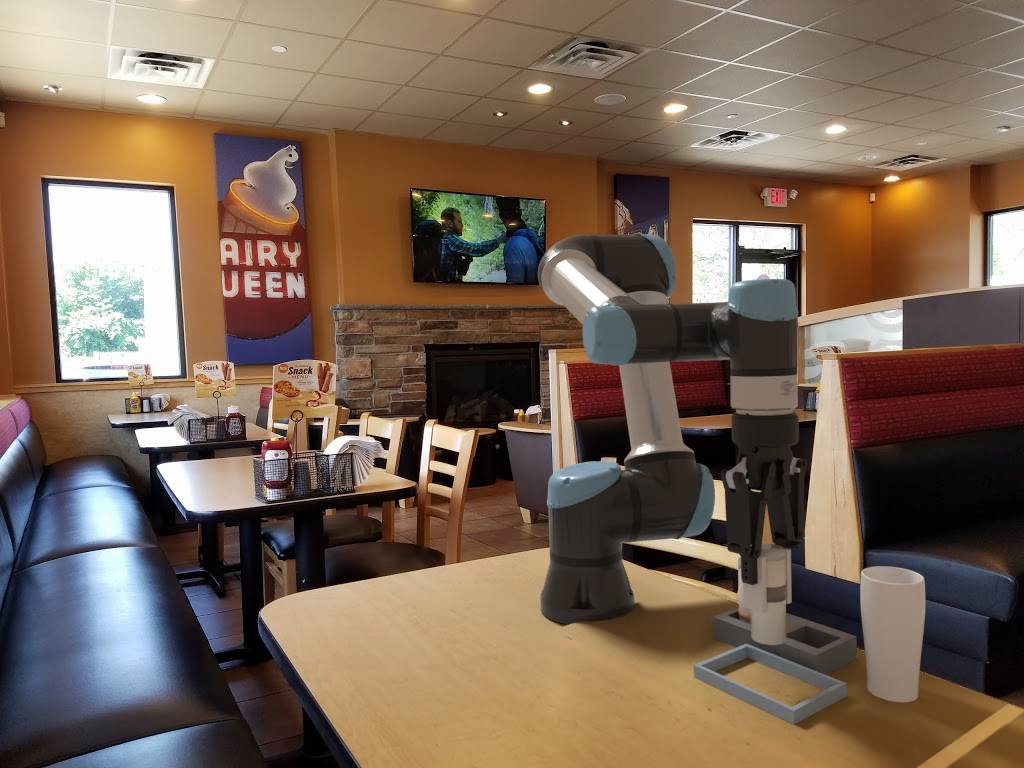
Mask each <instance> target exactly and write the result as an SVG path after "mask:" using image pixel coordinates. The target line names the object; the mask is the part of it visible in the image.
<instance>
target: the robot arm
mask: <svg viewBox="0 0 1024 768" xmlns="http://www.w3.org/2000/svg"><path fill="white" fill-rule="evenodd" d="M676 274H677V267H676V261H675V256H674V254H673V252H672V248H671V247H670V245H669V244H668V242H667V241H666V240H665V239H664V238H662V237H661V236H659V235H658V234H646V233H645V234H644V233H641V232H635V233H632V234H631V233H629V234H627V233H626V234H623V233H622V234H586V233H585V234H584V233H583V234H576V235H572V236H569V237H565V238H563V239H561V240H560V241H557V242H556V243H555V244H554V245H553V244H552V246H551V247H549V248H548V249H547V251H545V253H544V254H543V256H542V258H541V259H540V261H539V265H538V270H537V279H538V284H539V286H540V289H541V290H542V292H543V293H544V295H545V296H546V297H547V298H548V299H549V300H550V301H551V302H553V303H555V304H556V305H560V306H562V307H565V308H566V309H567V310H568V311H569V312H570V314H572V315H573V317H575V318H576V320H578V322H579V323H580V324H581V325H582V345H583V348H584V350H585V355H586V357H587V358H588V360H589V361H590V362H591V363H593V364H596V365H612V366H615V367H616V366H619V374H620V381H621V387H622V394H623V401H624V408H625V414H626V421H627V428H628V436H629V442H630V448H631V450H630V451H629V453H628V454H627V456H626V457H625V458H624V461H623V463H624V469H622V468H621V467H620V465H619V463H618V462H616V461H610V460H599V461H595V460H593V461H585V462H579V463H576V464H571V465H568V466H565V467H562V468H559V469H558V470H556V471H555V472H553V473H552V474H551V475H550V477H549V479H548V482H547V484H548V485H547V500H546V506H547V509H548V511H547V513H548V536H549V537H548V542H549V565H548V569H547V572H546V577H545V579H544V585H543V589H542V590H541V593H540V597H539V598H540V612H541V613H542V615H543V616H545V617H546V618H548V620H551V621H553V622H556V623H560V624H563V625H573V624H575V623H579V622H600V621H601V622H603V621H608V620H615V619H618V618H620V617H623V616H626V615H627V614H629V613H630V612H632V611H633V610H634V608H635V593H634V592H633V590H632V586H631V582H630V580H629V576H628V573H627V571H626V568H625V566H624V562H623V544H624V543H635V542H646V541H647V542H648V541H650V542H651V541H659V540H661V541H662V540H671V539H673V540H680V539H683V538H687V537H688V538H689V537H695V536H698V535H701V534H702V533H704V532H705V531H706V530H707V528H708V527H709V525H710V524H711V521H712V518H713V515H714V512H715V504H716V490H715V489H716V488H715V481H714V478H713V475H712V473H710V471H711V470H710V469H709V468H708V466H706V465H704V464H702V463H698V462H697V461H696V457H695V452H694V450H693V449H692V448H690V447H688V446H687V445H686V444H685V443H684V440H683V436H682V430H681V423H680V417H679V410H678V406H677V398H676V393H675V387H674V382H673V375H672V369H671V368H672V367H671V363H670V362H672V363H673V362H700V361H704V362H705V361H723V360H724V361H725V360H726V361H730V407H731V408H732V409H734V410H735V412H734V413H733V414H732V415H731V416H730V417H731V440H732V442H733V443H734V444H735V445H736V446H737V447H738V455H737V457H736V465H735V466H734V467H733V468H731V469H722V470H721V471H720V479H721V482H722V485H723V489H724V501H725V502H724V503H725V504H724V506H725V529H726V548H727V551H728V552H729V553H734V554H737V555H739V557H741V570H742V571H741V573H742V574H741V579H742V582H743V598H744V607H745V608H748V609H751V610H754V611H757V612H760V613H765V612H767V593H766V557H763V556H760V555H761V548H762V544H763V540H764V539H763V538H764V529H765V519H766V511H767V517H768V523H769V529H770V534H771V535H770V536H771V540H772V541H771V542H772V544H775V545H779V546H782V547H784V548H785V582H786V605H788V604H791V603H792V602H793V601H792V570H793V551H792V550H793V549H795V550H798V549H800V547H801V545H802V544H801V541H798V540H803V538H804V537H805V477H806V473H807V470H808V469H807V468H808V461H807V459H805V458H796V457H794V455H793V452H792V449H791V447H792V446H794V445H796V444H798V442H799V441H800V439H799V438H800V431H799V430H800V429H799V427H800V426H799V415H798V414H797V412H794V411H793V410H794V409H795V410H796V408H797V407H798V406H799V399H798V398H799V396H798V393H799V392H798V391H799V390H798V367H799V366H798V365H799V364H798V363H799V362H798V358H799V357H798V351H799V349H798V346H799V345H798V344H799V343H798V340H799V339H798V333H799V332H798V330H799V329H798V327H799V326H798V321H799V320H798V318H799V310H798V308H797V294H796V287H795V284H794V283H793V282H792V281H791V280H789V279H785V278H766V279H765V278H764V279H761V278H760V279H749V280H741V281H736V282H734V283H733V284H731V286H730V288H729V290H728V291H729V293H728V300H727V301H723V302H722V301H719V302H717V301H716V302H692V303H691V302H690V303H689V302H688V303H669V297H670V296H671V295H672V294H673V293H674V290H675V287H676V283H677V282H676V281H677V279H676ZM696 462H697V463H696Z"/></svg>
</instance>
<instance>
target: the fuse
mask: <svg viewBox="0 0 1024 768" xmlns="http://www.w3.org/2000/svg"><path fill="white" fill-rule="evenodd" d="M737 566H738V567H737V568H738V569H737V570H738V575H737V576H738V578H737V579H738V580H737V581H738V607H739V620H741V621H744V622H746V623H749V624H751V609H748V608H745V607H744V598H743V582H742V579H741V574H742V573H741V571H742V570H741V556H739V558H738V559H737Z"/></svg>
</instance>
